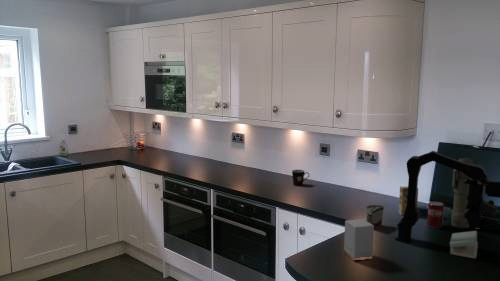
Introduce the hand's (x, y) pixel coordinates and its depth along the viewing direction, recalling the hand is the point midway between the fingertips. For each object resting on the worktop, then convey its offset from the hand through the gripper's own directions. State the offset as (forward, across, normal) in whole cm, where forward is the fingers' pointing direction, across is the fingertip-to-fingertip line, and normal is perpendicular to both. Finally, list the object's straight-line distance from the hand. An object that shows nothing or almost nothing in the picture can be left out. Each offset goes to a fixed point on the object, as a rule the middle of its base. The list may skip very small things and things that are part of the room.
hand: (471, 229), depth 186 cm
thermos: (+10, +35, +6) cm, 37 cm away
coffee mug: (+11, +68, +109) cm, 129 cm away
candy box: (+11, +40, +33) cm, 53 cm away
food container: (+11, +11, +46) cm, 48 cm away
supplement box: (+11, -29, +41) cm, 51 cm away
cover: (+6, 0, +3) cm, 6 cm away
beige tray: (+10, 0, +2) cm, 11 cm away
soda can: (+11, +27, +17) cm, 34 cm away
